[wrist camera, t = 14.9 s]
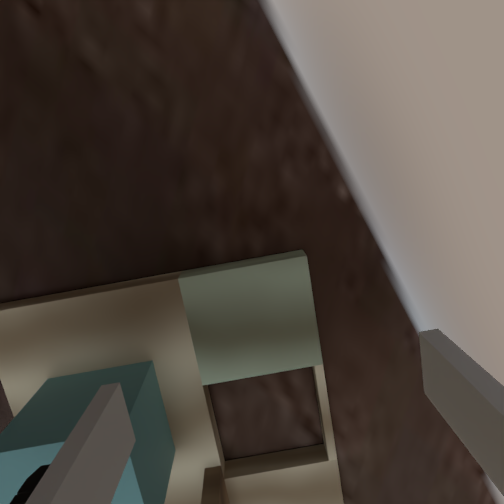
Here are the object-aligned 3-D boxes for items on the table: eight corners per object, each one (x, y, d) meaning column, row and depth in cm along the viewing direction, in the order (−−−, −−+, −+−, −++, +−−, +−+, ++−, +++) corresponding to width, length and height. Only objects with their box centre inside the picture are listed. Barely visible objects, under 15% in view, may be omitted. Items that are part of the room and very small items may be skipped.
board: (-7, 304, 23) (-24, 314, 22) (302, 249, 23) (306, 255, 21) (116, 656, 30) (110, 682, 28) (357, 615, 29) (364, 639, 28)
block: (47, 378, 23) (-19, 455, 17) (152, 360, 23) (122, 431, 17) (76, 467, 24) (25, 567, 18) (175, 450, 24) (155, 544, 18)
